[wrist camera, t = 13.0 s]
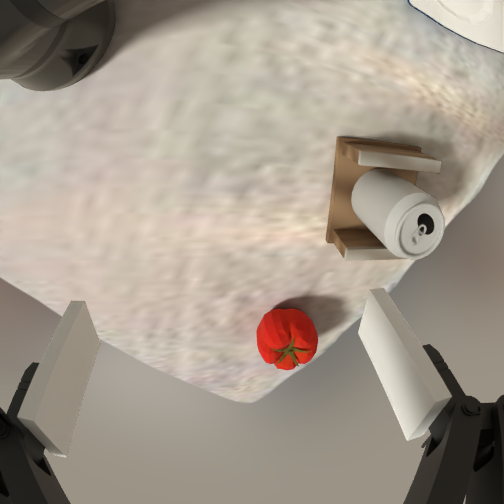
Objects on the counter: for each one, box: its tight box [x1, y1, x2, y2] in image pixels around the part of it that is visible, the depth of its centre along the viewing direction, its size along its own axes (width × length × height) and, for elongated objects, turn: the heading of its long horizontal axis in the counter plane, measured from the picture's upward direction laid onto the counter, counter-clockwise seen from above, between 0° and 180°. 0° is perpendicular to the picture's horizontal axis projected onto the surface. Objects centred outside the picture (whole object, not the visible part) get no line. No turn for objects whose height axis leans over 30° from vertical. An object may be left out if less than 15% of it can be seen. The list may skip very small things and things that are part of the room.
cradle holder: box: [326, 137, 442, 261], centre depth 37 cm, size 14×12×7 cm
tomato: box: [257, 308, 318, 370], centre depth 46 cm, size 9×9×8 cm
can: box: [351, 169, 445, 260], centre depth 34 cm, size 8×8×12 cm
